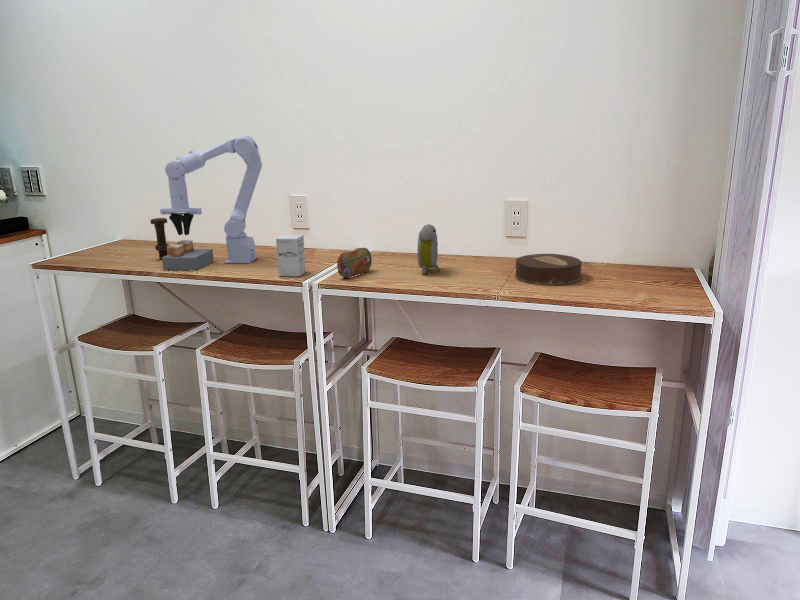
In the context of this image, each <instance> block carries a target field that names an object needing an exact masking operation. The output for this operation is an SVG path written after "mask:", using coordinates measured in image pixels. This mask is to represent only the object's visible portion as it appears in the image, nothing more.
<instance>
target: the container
mask: <svg viewBox="0 0 800 600" xmlns="http://www.w3.org/2000/svg"><path fill="white" fill-rule="evenodd" d="M582 263H583V261H582V260H581V259H579V258H578V257H575V256H570V255H566V254H559V253H534V254H526V255H522V256H519V257H518V258H516V259H515V275H514V278H515V279H516V280H518V281H519V282H521V283H525V284H530V285H534V286H535V285H537V286H547V287H550V286H552V287H553V286H556V287H557V286H567V285H572V284H576V283H578V282H581V280H582Z"/></svg>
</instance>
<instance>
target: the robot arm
mask: <svg viewBox="0 0 800 600" xmlns="http://www.w3.org/2000/svg"><path fill="white" fill-rule="evenodd" d="M225 153H229V154H235V153H236V154H237V155H238V156H239V157H240V158H241V159H242V161H243V162H244V164H245V165H246V170H245V173H244V176H243V179H242V182H241V186H240V189H239V191H238V195H237V196H236V197H237V198H236V201H235V203H234V206H233V210H232V212H231V214H230V217H229V219H228V221H226V222H225V224H224V226H223V230H224V233H225V241H226V254H227V259H226V260H224V261H223V263H225V264H251V262H253V261H255V260H256V259H257V256H256V255H257V254H256V246H255V245H256V244H255V240H254V238H253V237H252V236H247V233H246V232H245V229H246V227H247V225H246V218H247V213H248V210H249V207H250V203H251V201H252V197H253V195H254V191H255V189H256V186H257V183H258V180H259V178H260V177H259V176H260V173H261V170H262V167H263V161H262V158H261V155H260V150H259V146H258V144H257V142H255V139H253V138H252V137H251V136H249V135H243V136H240V137H236V138H234V139H228V140H225V141H223V142H220V143H219V144H216V145H214V146H213V147H210V148H209V149H206V150H205V151H202V152H200V151H198V150H195V151H194V150H190V151H189V152H188V154H186V155H184V156H181V157H180V156H178V157H176V160H172V161H170V162H168V163H167V164H166V165H165V168H164V172H165V174H166V176H167V178H168V179H167V180H168V189H169V195H170V196H169V198H170V203H171V207H169V208H168V207H167V208H160V209H159V211H160V212H159V213H160V215H162V216H163V215H169V216H168V218H169V220H170V221H171V223H172V224H173V226H174V228H175V230H176V232H177V235H178V236H181V235H184V236H188V235H190V230H191V229H190V228H191V224H192V221H193V218H194V215H202V213H203V211H202V207H199V208H198V207H196V208H195V207H190V206H189V205H190V204H189V196H188V188H187V187H188V186H187V183H186V175H187V174H190V173H192V172H194V171H196V170H199V169H201V168H204V167H205V165H206V162H207V161H209V160H211V159H214V158H216V157H219V156H221V155H223V154H225Z"/></svg>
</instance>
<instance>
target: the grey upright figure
mask: <svg viewBox="0 0 800 600" xmlns="http://www.w3.org/2000/svg"><path fill="white" fill-rule="evenodd" d="M438 246H439V244H438V234H437V229H436V227H435V226H434V225H433V224H430V223H428V224H425V225H424V226H423V227H422V228H421V230H420V231H419V233H418V238H417V263H418V264H417V265H418V267H419V268H421V276H425V273H426V272H427V271H426V270H427V269H434V270H436V271H437V272H438V273H440V272H441V271H442V270H441V268H440V267H439V265H438V253H439V252H438Z"/></svg>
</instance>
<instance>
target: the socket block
mask: <svg viewBox="0 0 800 600" xmlns="http://www.w3.org/2000/svg"><path fill="white" fill-rule="evenodd" d="M184 254H185V255H183V256H181V257H168V255H167V256H164V257H162V260H161V261H162V268H163V271H178V270H197V271H199V270H200V268H201V269H202V268H204V267H206V266H208V265H209V264H211V263H214V261H215V260H214V259H215V258H214V251H213V248H194V251H192V252H189V253H184ZM168 269H169V270H168ZM198 269H199V270H198Z"/></svg>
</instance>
